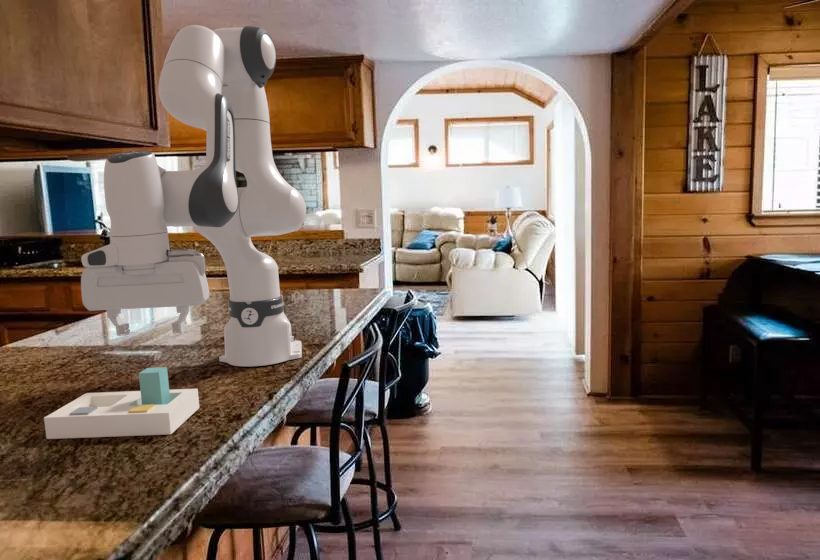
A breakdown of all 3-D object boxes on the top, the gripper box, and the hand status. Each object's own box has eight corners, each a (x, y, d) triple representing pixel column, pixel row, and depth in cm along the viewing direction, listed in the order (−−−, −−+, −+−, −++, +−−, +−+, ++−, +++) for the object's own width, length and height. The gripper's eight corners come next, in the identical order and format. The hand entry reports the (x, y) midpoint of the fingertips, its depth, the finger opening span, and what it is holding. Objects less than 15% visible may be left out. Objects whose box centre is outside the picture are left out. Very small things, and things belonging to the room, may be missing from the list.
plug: (151, 410, 114) (147, 367, 113) (171, 409, 114) (167, 367, 113) (143, 417, 110) (138, 373, 109) (163, 416, 110) (158, 372, 109)
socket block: (88, 412, 118) (86, 391, 117) (199, 407, 117) (197, 386, 117) (46, 439, 105) (43, 415, 105) (170, 434, 104) (168, 411, 104)
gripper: (210, 246, 111) (218, 326, 114) (90, 252, 112) (101, 331, 114) (197, 250, 105) (206, 335, 107) (70, 257, 106) (82, 341, 108)
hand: (151, 333), depth 111 cm, fingers open, 8 cm apart
